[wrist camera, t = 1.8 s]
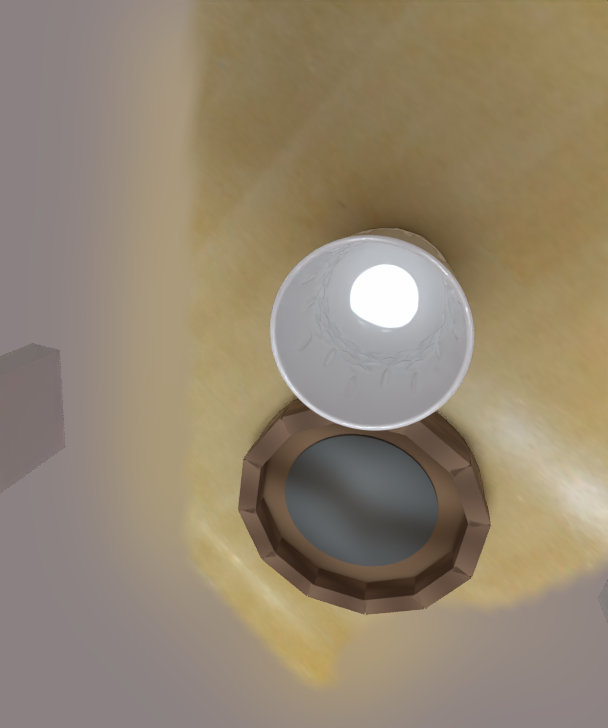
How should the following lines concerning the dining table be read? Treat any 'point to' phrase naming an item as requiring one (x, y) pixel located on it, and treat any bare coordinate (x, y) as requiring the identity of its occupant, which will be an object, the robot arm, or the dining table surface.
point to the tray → (365, 509)
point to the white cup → (373, 330)
